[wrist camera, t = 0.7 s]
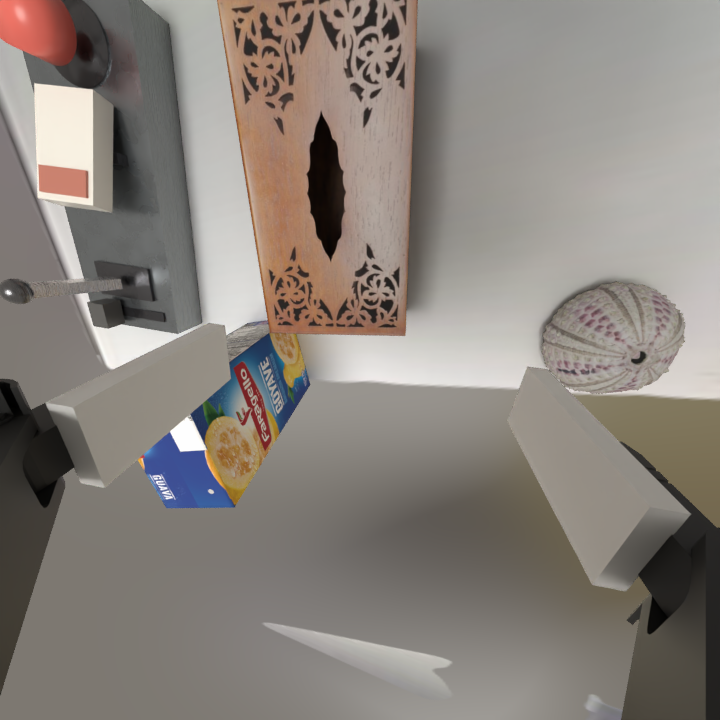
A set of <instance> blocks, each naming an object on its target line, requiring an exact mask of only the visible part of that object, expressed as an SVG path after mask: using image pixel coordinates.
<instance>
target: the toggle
mask: <svg viewBox="0 0 720 720" xmlns="http://www.w3.org/2000/svg"><path fill="white" fill-rule="evenodd" d="M118 289H123V288H122V283H121V279H119V278H116V277H99V278H85V279H71V280H58V281H43V282H30V283H29V282H26V281H23V280H20V279H7V280H4V281H3V282H1V283H0V296H1V297H2V298H3V299H5V300H7V301H9V302H11V303H15V304H25V303H28V302H31V301H32V300H33V299H34V298H40V297H51V296H60V295H70V294H80V293H89V292H99V291H109V290H118Z"/></svg>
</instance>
